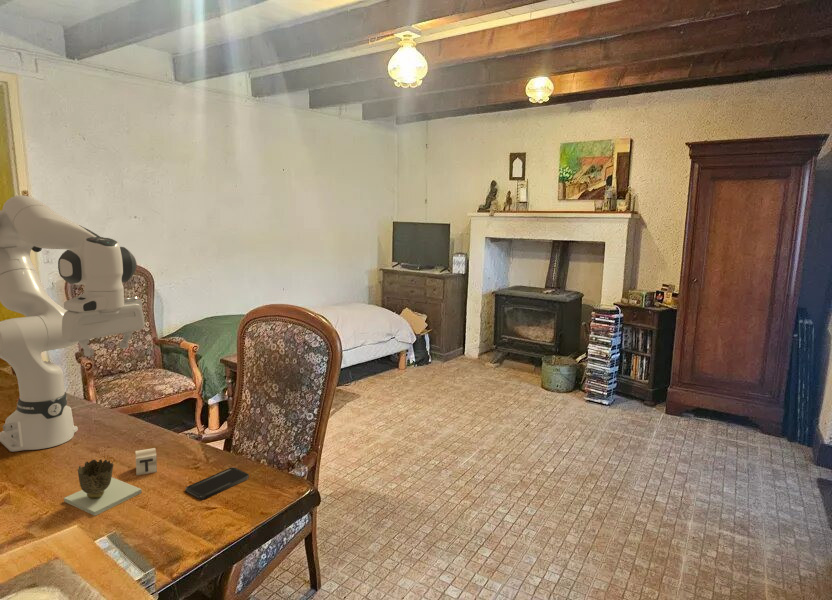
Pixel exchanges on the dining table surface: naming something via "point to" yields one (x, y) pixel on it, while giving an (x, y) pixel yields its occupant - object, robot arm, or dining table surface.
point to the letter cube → (146, 461)
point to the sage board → (103, 497)
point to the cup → (95, 477)
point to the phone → (216, 483)
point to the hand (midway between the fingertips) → (107, 351)
